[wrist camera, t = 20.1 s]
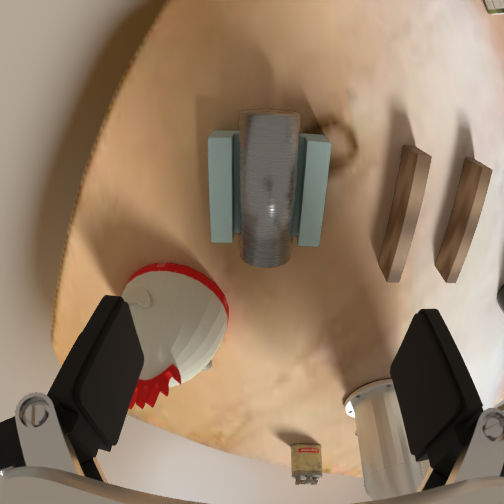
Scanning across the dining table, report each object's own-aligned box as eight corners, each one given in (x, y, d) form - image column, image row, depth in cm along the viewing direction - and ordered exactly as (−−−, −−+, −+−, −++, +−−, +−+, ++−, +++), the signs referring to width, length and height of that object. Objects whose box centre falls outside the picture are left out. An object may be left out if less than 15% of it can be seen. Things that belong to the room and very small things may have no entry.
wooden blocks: (444, 266, 34) (455, 282, 31) (378, 263, 35) (386, 282, 32) (474, 159, 27) (492, 169, 24) (403, 144, 27) (417, 154, 24)
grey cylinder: (289, 241, 32) (292, 268, 28) (241, 239, 32) (237, 266, 28) (298, 110, 25) (304, 117, 21) (242, 108, 25) (236, 115, 21)
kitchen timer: (106, 286, 39) (57, 374, 26) (186, 244, 35) (144, 347, 22) (169, 352, 45) (145, 439, 32) (248, 325, 41) (240, 428, 28)
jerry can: (323, 444, 61) (325, 482, 53) (317, 449, 63) (319, 486, 55) (293, 443, 61) (294, 482, 52) (288, 448, 63) (289, 486, 54)
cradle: (314, 229, 33) (318, 246, 30) (216, 225, 33) (211, 242, 30) (324, 134, 28) (331, 142, 25) (214, 130, 28) (207, 137, 25)
